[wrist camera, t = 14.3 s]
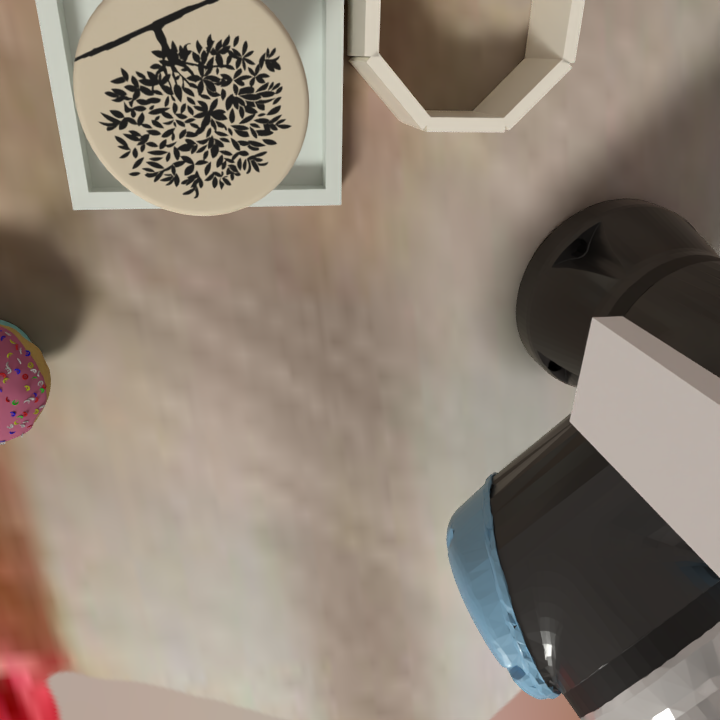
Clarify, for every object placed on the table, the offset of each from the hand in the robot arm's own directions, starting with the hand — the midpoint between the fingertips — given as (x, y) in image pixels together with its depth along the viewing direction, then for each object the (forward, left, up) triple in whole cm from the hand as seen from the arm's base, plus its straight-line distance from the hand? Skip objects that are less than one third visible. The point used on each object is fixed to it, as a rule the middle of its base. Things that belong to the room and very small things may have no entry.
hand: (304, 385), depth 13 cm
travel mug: (+2, -5, -29) cm, 29 cm away
